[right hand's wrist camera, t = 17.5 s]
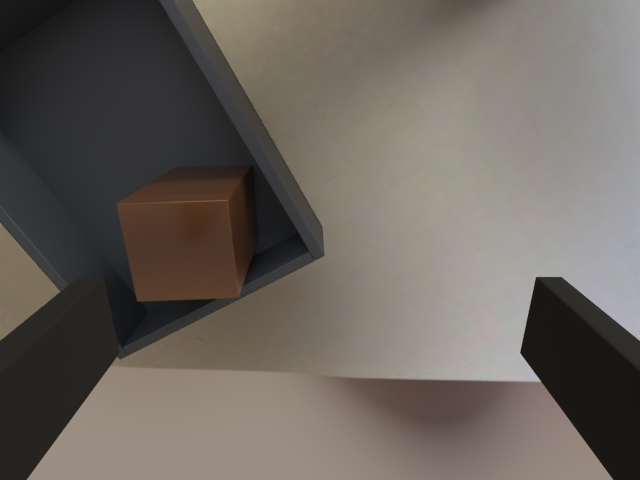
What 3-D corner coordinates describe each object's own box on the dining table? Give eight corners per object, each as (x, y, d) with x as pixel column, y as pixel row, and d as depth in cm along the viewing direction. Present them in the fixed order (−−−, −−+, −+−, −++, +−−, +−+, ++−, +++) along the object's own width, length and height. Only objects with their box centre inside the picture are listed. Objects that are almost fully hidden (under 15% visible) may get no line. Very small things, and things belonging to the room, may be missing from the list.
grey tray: (-153, -58, 20) (-378, -127, 13) (61, -229, 18) (-83, -407, 11) (149, 316, 28) (99, 389, 21) (322, 226, 26) (326, 276, 19)
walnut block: (173, 167, 24) (115, 203, 17) (252, 164, 24) (227, 199, 17) (185, 240, 25) (136, 302, 18) (258, 238, 25) (238, 298, 18)
